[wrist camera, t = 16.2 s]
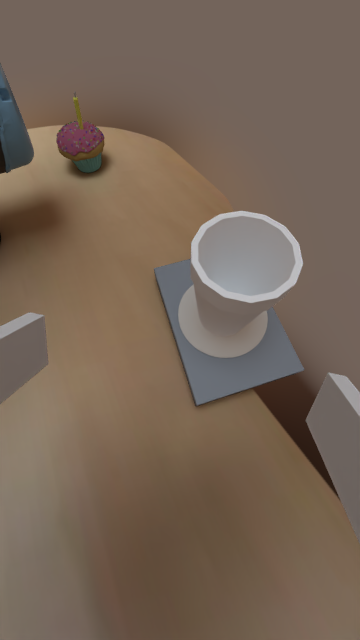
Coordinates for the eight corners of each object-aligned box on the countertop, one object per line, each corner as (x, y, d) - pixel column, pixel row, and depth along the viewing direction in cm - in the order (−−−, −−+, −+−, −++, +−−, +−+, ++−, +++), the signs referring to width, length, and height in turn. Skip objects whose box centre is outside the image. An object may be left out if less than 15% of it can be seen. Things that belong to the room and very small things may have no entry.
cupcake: (115, 153, 50) (96, 78, 39) (104, 182, 47) (80, 108, 36) (75, 149, 51) (45, 74, 40) (61, 177, 48) (25, 104, 37)
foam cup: (241, 361, 30) (281, 321, 18) (175, 329, 32) (171, 274, 20) (266, 300, 33) (314, 232, 21) (205, 274, 35) (218, 198, 23)
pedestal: (155, 279, 39) (153, 267, 36) (237, 257, 40) (242, 244, 37) (195, 406, 31) (197, 405, 28) (293, 374, 33) (305, 369, 30)
